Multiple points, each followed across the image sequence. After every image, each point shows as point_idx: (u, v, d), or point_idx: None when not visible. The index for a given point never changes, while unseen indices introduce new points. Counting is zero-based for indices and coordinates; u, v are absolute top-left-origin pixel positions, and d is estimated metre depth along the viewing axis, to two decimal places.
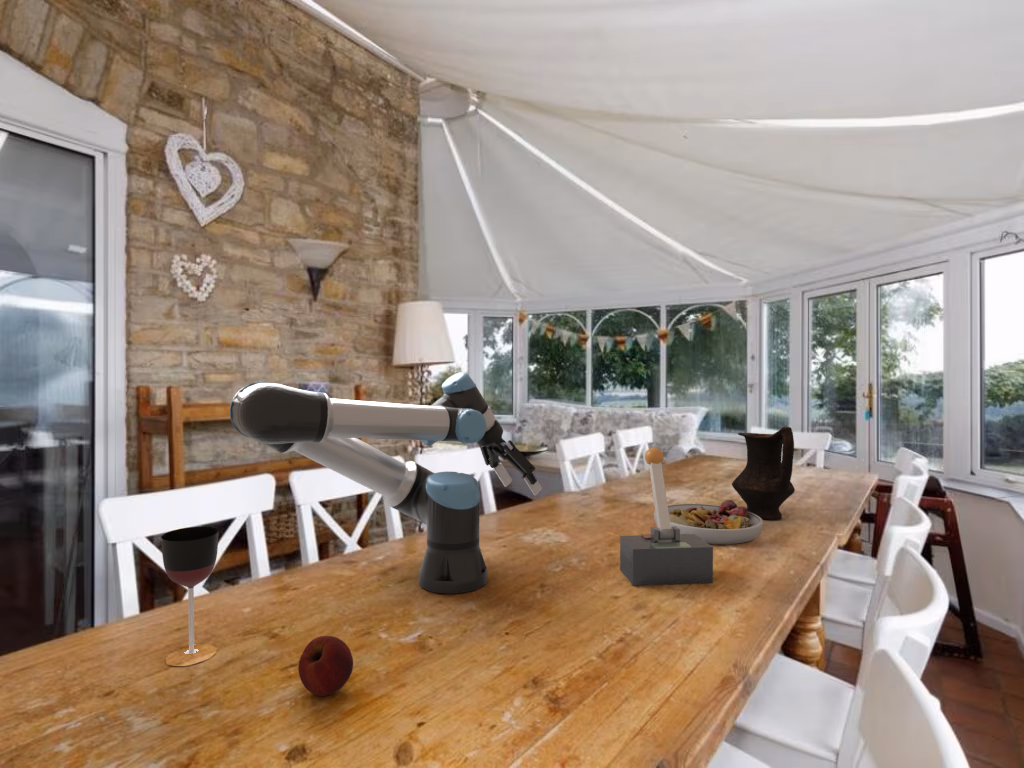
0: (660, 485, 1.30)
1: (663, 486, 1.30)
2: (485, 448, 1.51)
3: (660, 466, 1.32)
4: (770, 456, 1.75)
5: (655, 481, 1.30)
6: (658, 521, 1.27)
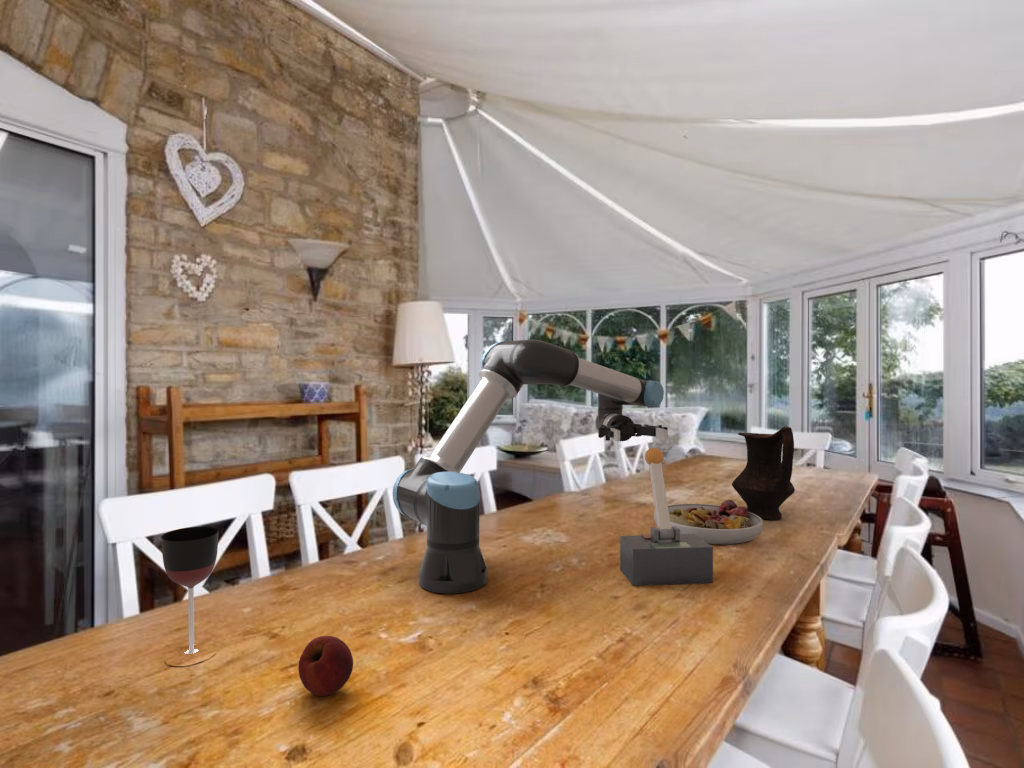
0: (660, 485, 1.30)
1: (663, 486, 1.30)
2: None
3: (660, 466, 1.32)
4: (770, 456, 1.75)
5: (655, 481, 1.30)
6: (658, 521, 1.27)
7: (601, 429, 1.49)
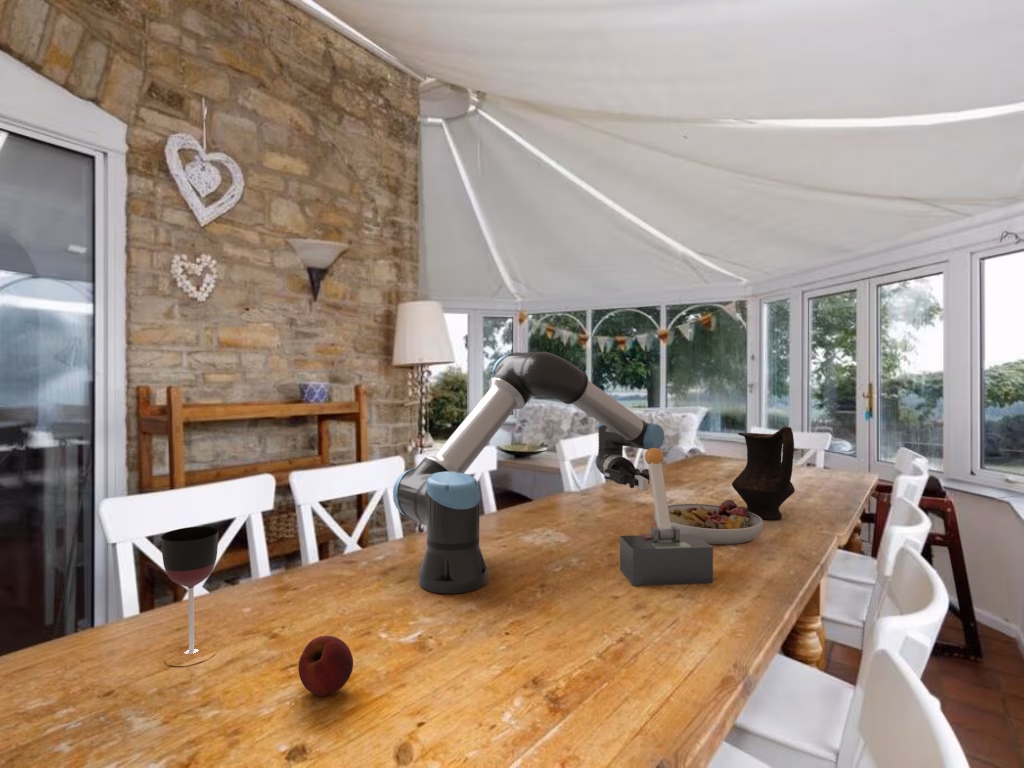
0: (660, 485, 1.30)
1: (663, 486, 1.30)
2: None
3: (660, 466, 1.32)
4: (770, 456, 1.75)
5: (655, 481, 1.30)
6: (658, 521, 1.27)
7: (626, 476, 1.48)
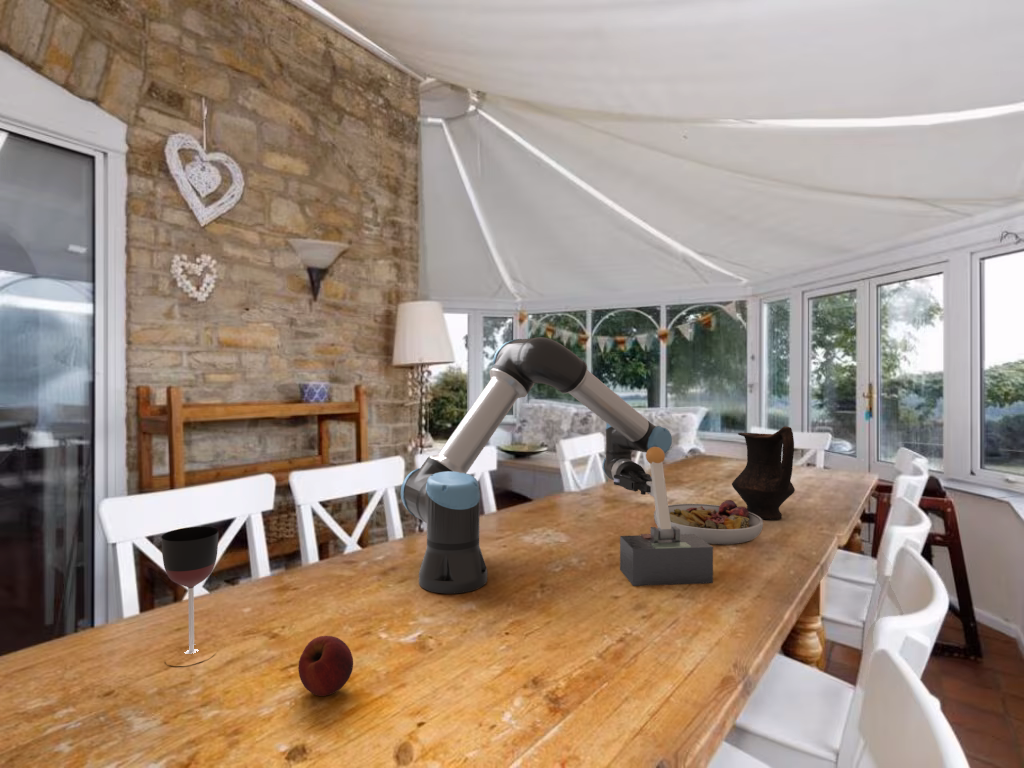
0: (660, 485, 1.29)
1: (664, 485, 1.29)
2: None
3: (661, 465, 1.31)
4: (770, 456, 1.75)
5: (656, 481, 1.30)
6: (658, 521, 1.27)
7: (637, 482, 1.39)
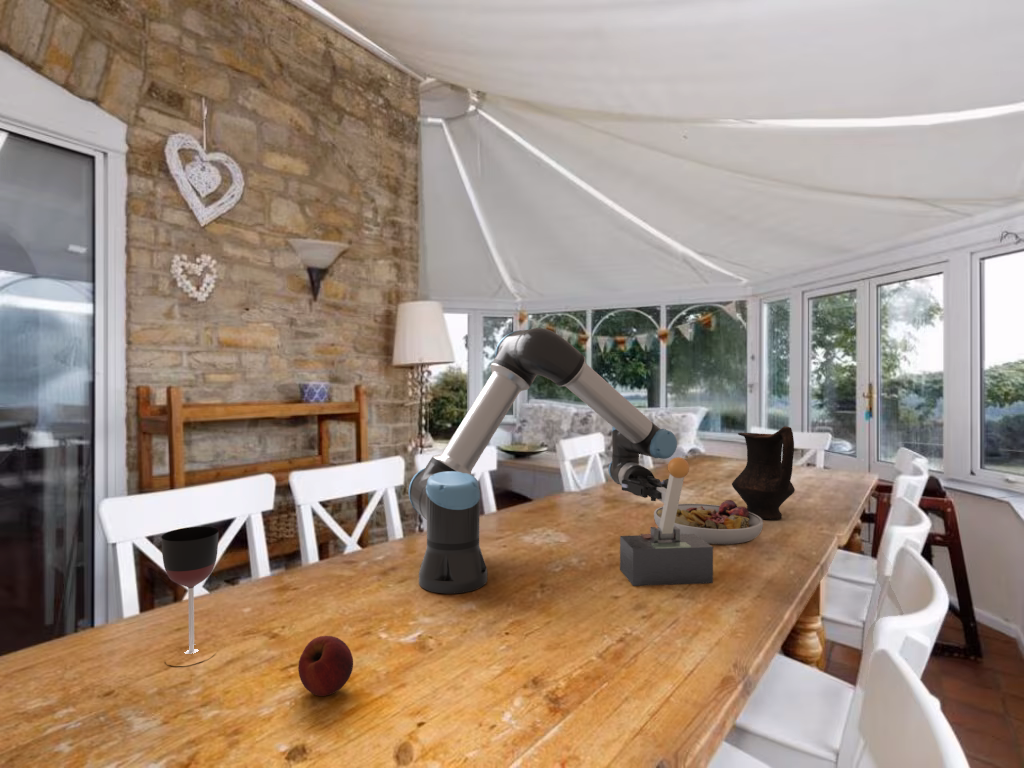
0: (674, 498, 1.21)
1: (678, 498, 1.21)
2: None
3: (681, 480, 1.19)
4: (770, 456, 1.75)
5: (671, 494, 1.20)
6: (662, 524, 1.25)
7: (647, 488, 1.32)
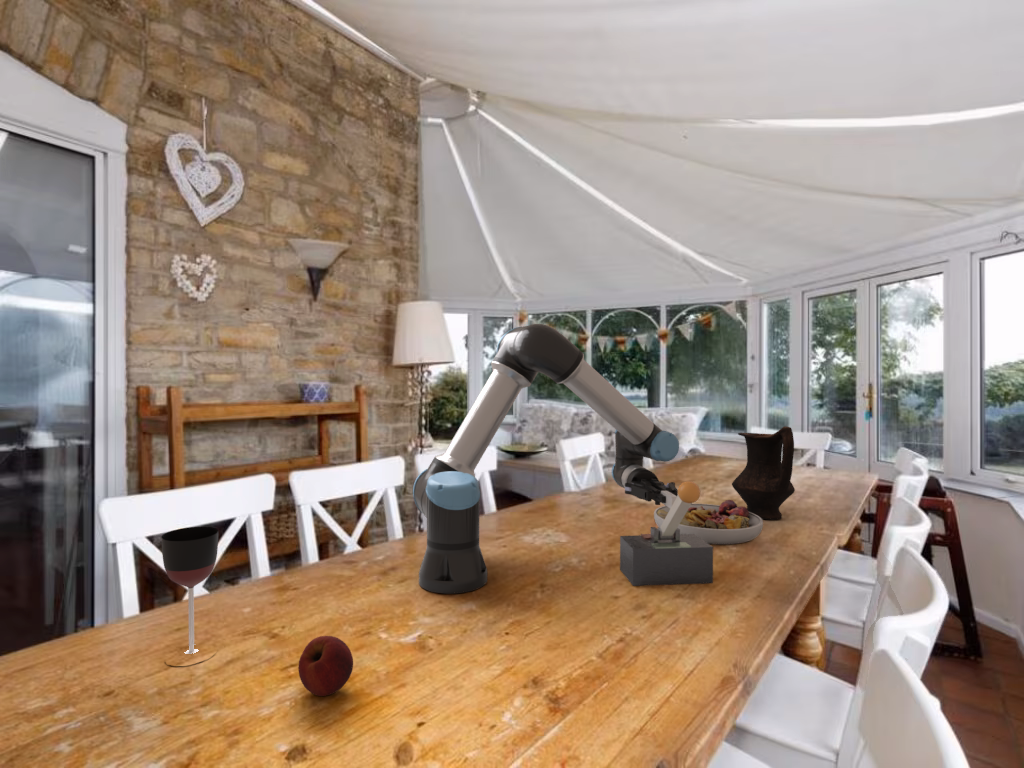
0: (680, 514, 1.18)
1: (684, 514, 1.18)
2: None
3: (690, 502, 1.15)
4: (770, 456, 1.75)
5: (677, 511, 1.17)
6: (663, 528, 1.24)
7: (651, 491, 1.28)
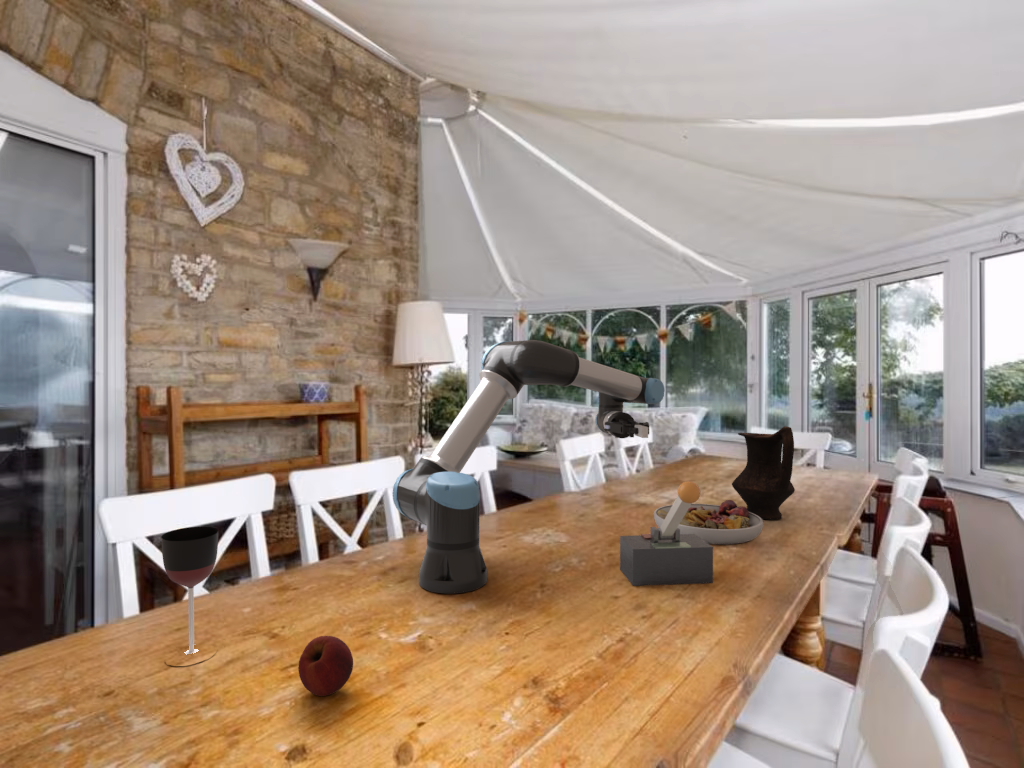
0: (680, 514, 1.18)
1: (684, 514, 1.18)
2: None
3: (690, 503, 1.15)
4: (770, 456, 1.75)
5: (677, 511, 1.17)
6: (663, 528, 1.24)
7: (626, 426, 1.48)
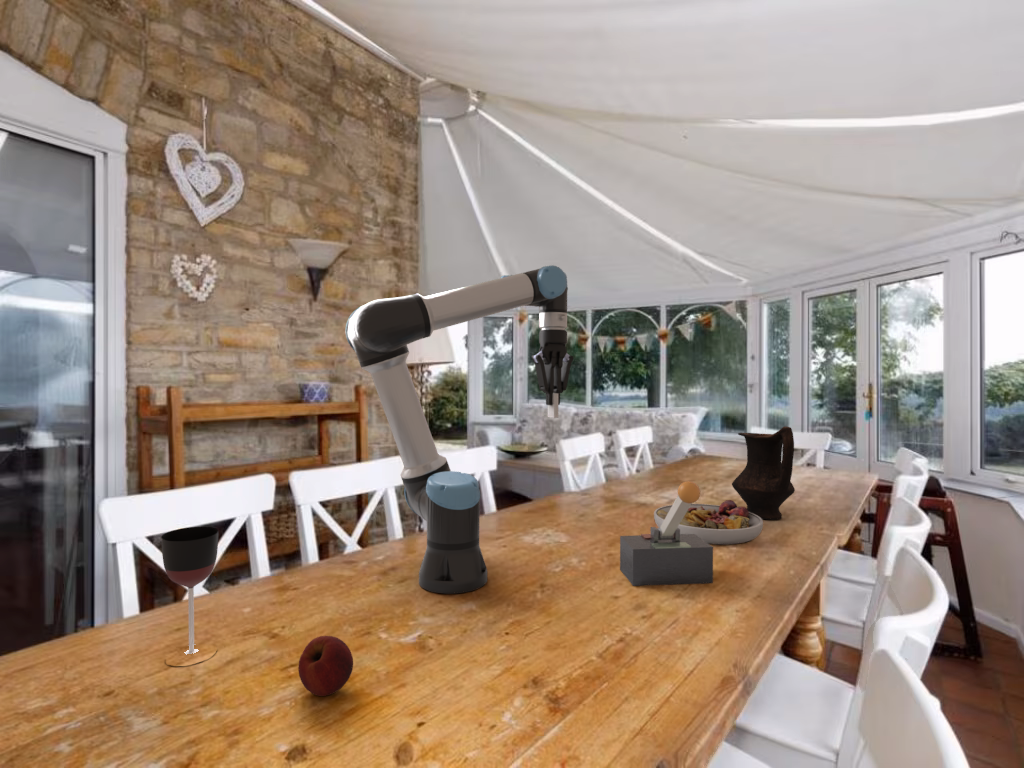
0: (680, 514, 1.18)
1: (684, 514, 1.18)
2: (563, 364, 1.52)
3: (690, 503, 1.15)
4: (770, 456, 1.75)
5: (677, 511, 1.17)
6: (663, 528, 1.24)
7: None
